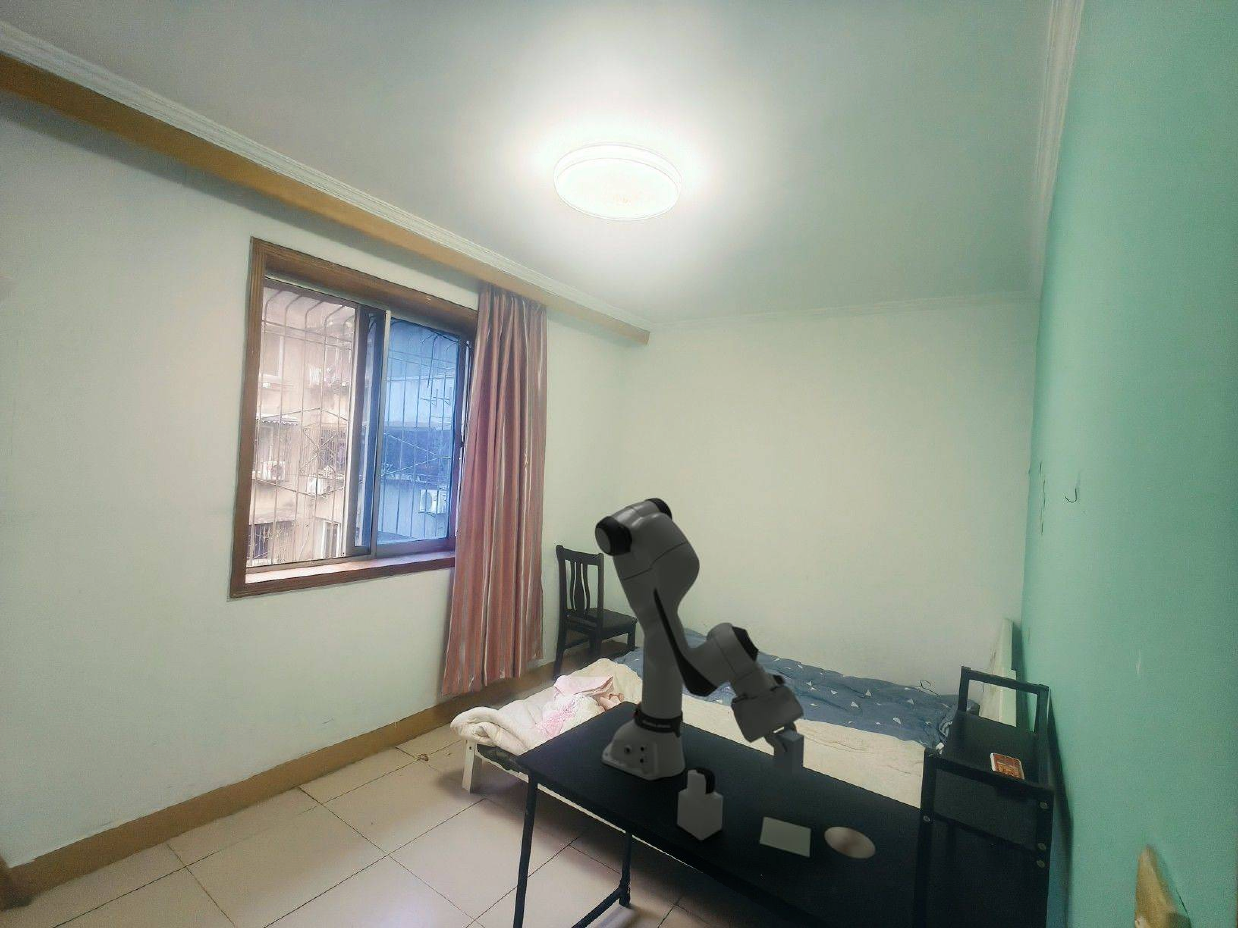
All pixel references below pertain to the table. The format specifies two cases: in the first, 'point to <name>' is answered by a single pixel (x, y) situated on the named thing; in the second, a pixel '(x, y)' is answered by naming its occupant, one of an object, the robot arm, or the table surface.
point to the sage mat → (786, 836)
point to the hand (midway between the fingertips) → (791, 749)
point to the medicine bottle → (700, 804)
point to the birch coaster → (849, 842)
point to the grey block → (789, 752)
